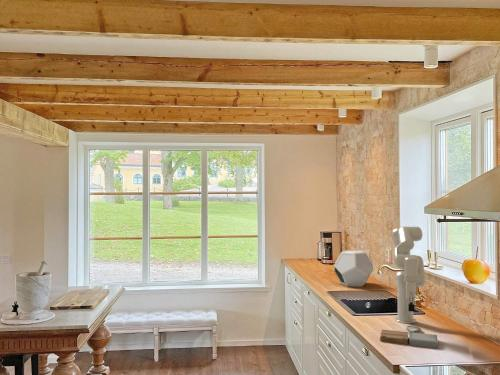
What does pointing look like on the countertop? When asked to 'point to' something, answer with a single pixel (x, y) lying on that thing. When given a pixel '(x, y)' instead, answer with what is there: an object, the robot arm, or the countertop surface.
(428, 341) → the slate stand
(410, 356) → the countertop surface
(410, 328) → the stone
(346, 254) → the dodecahedron
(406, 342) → the walnut stand
